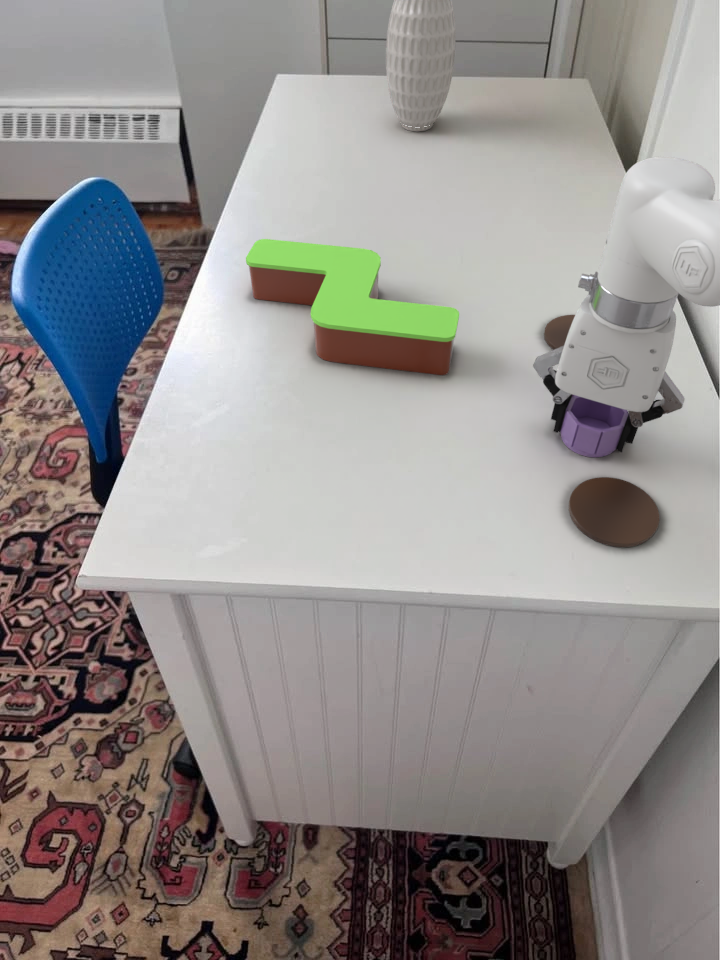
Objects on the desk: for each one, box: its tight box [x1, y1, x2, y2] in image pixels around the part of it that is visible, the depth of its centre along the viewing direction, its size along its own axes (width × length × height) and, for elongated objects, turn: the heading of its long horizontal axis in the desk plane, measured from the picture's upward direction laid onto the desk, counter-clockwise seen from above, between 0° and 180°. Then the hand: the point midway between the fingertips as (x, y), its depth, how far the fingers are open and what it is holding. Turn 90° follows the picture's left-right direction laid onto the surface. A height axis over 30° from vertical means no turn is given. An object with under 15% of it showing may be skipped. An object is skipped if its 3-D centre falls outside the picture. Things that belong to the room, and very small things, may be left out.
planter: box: [245, 238, 460, 376], centre depth 95 cm, size 30×18×6 cm, turn 78°
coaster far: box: [543, 314, 576, 350], centre depth 94 cm, size 9×9×1 cm
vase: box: [385, 0, 457, 132], centre depth 132 cm, size 13×13×28 cm
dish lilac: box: [559, 395, 629, 458], centre depth 80 cm, size 6×6×4 cm
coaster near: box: [568, 476, 660, 548], centre depth 74 cm, size 9×9×1 cm
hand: (590, 433), depth 81 cm, fingers closed on dish lilac, 6 cm apart
